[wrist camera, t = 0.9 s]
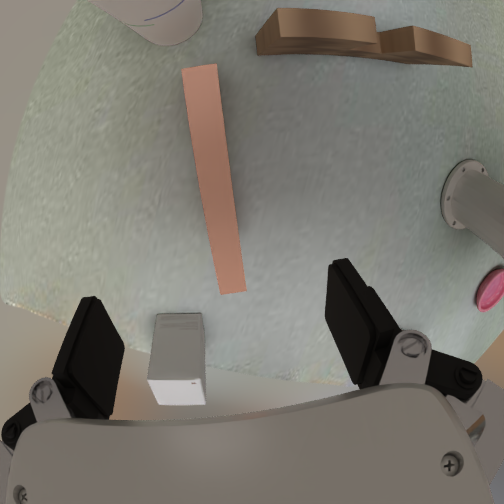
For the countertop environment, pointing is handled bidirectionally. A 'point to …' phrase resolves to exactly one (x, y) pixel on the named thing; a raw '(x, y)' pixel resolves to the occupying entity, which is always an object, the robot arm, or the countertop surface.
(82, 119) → the countertop surface
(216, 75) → the terracotta slotted plate
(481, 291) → the saucer
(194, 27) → the cylindrical container
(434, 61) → the walnut slotted plate
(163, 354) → the supplement box
